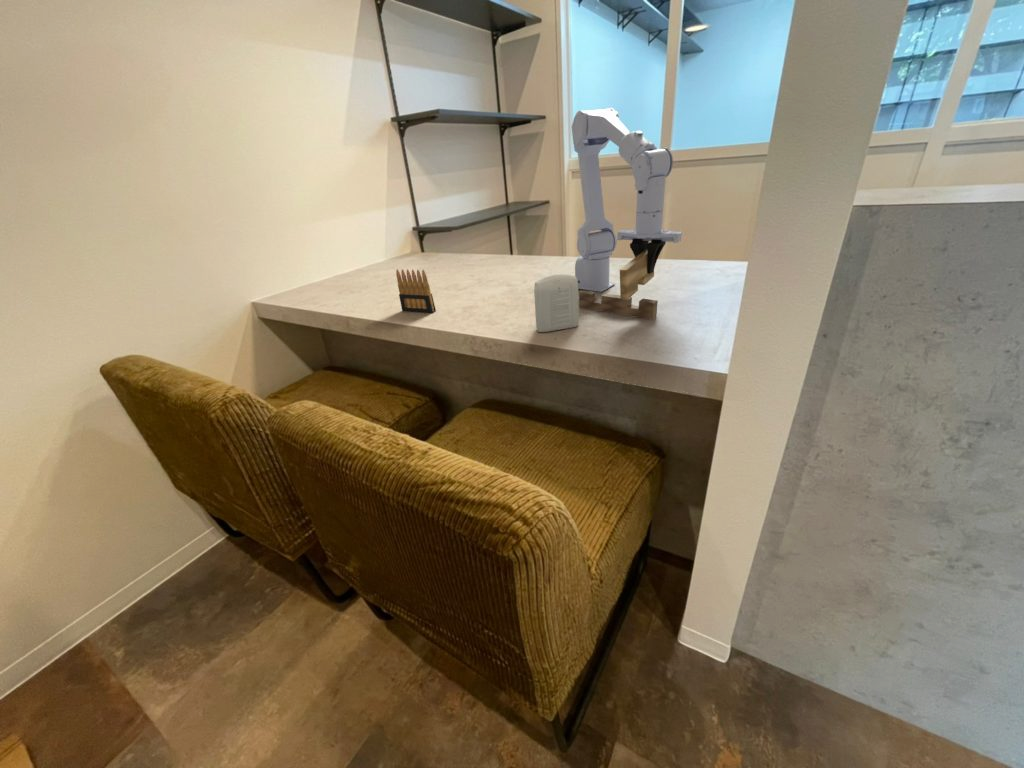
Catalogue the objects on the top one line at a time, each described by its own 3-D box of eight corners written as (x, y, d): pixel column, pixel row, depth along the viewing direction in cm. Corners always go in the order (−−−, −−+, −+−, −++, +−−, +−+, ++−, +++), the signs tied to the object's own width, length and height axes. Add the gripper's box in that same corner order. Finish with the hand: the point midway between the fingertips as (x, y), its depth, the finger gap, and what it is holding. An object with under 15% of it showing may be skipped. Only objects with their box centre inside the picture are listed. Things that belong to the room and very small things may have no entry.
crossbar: (620, 299, 94) (619, 269, 90) (647, 275, 102) (647, 247, 98) (627, 300, 93) (626, 270, 89) (653, 276, 101) (654, 248, 97)
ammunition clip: (436, 311, 117) (427, 268, 111) (432, 313, 116) (423, 270, 110) (405, 309, 121) (396, 268, 116) (402, 311, 120) (392, 270, 114)
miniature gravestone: (575, 321, 100) (573, 269, 94) (581, 327, 96) (580, 274, 90) (534, 328, 99) (530, 276, 93) (539, 334, 95) (535, 281, 89)
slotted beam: (579, 307, 108) (579, 292, 106) (583, 305, 109) (583, 290, 107) (652, 319, 96) (653, 303, 94) (656, 317, 97) (657, 300, 95)
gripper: (611, 214, 94) (610, 273, 101) (674, 214, 85) (669, 279, 92) (626, 209, 98) (624, 266, 105) (687, 208, 90) (681, 271, 96)
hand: (646, 272), depth 99 cm, fingers closed on crossbar, 2 cm apart
